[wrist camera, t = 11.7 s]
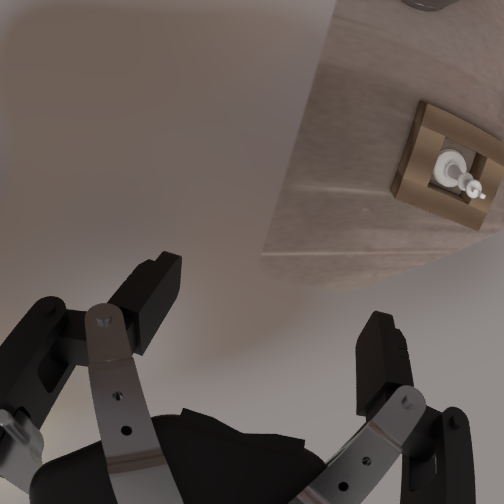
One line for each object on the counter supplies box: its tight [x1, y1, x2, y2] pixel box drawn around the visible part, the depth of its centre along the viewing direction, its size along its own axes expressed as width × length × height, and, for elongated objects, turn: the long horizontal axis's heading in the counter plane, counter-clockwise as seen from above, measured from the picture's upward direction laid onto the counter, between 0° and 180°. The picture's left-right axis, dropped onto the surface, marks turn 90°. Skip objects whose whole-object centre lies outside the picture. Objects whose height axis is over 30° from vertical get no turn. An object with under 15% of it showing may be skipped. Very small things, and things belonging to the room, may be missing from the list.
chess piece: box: [433, 149, 486, 199], centre depth 29 cm, size 5×5×10 cm
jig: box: [390, 101, 504, 231], centre depth 31 cm, size 12×13×3 cm
